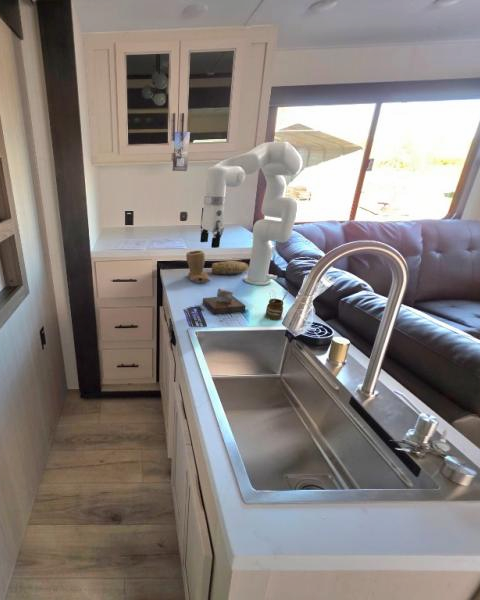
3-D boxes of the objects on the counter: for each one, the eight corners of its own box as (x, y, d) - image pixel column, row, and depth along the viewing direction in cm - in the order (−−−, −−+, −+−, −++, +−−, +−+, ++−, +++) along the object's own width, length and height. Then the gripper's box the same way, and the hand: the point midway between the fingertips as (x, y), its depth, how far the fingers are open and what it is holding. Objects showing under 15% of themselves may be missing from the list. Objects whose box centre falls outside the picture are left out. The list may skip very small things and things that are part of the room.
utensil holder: (266, 312, 130) (271, 285, 125) (282, 315, 127) (288, 288, 122) (263, 318, 125) (269, 290, 121) (281, 321, 122) (287, 293, 118)
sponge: (212, 278, 172) (251, 273, 167) (211, 264, 170) (250, 258, 165) (212, 274, 184) (248, 269, 179) (210, 261, 183) (246, 256, 178)
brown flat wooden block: (231, 301, 140) (232, 294, 139) (244, 312, 130) (245, 305, 129) (202, 304, 138) (202, 297, 136) (213, 315, 128) (214, 308, 126)
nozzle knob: (231, 301, 133) (232, 290, 131) (231, 303, 131) (232, 291, 129) (216, 299, 134) (218, 288, 132) (216, 301, 133) (217, 290, 131)
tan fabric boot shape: (183, 274, 174) (185, 247, 168) (205, 274, 173) (208, 248, 167) (186, 284, 160) (188, 255, 154) (210, 284, 160) (213, 255, 154)
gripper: (234, 203, 115) (228, 249, 121) (212, 198, 130) (207, 239, 137) (216, 203, 113) (210, 250, 120) (195, 199, 128) (191, 240, 135)
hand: (209, 244), depth 128 cm, fingers open, 9 cm apart
